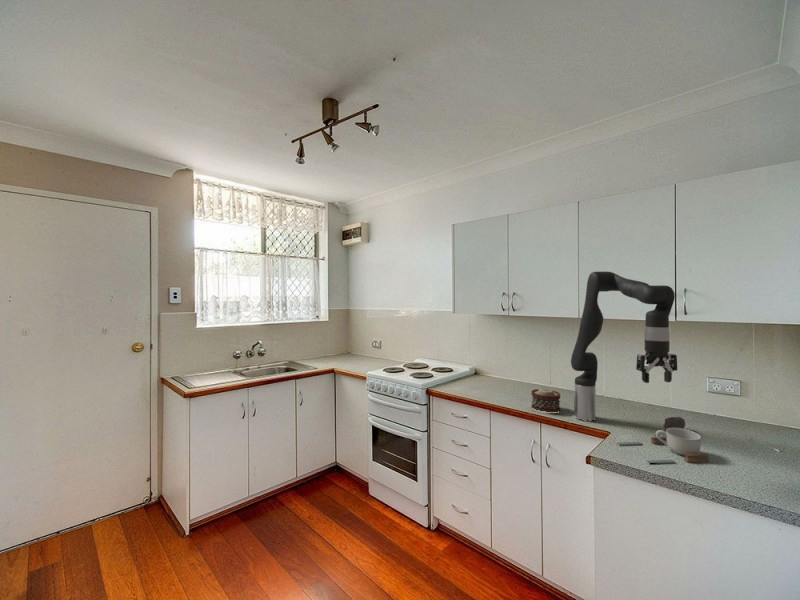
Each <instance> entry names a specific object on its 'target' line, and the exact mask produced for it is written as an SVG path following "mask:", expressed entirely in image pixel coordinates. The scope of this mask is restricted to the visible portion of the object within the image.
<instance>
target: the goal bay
mask: <svg viewBox="0 0 800 600" xmlns="http://www.w3.org/2000/svg"><path fill="white" fill-rule="evenodd" d="M617 444H619V445H627V446H642V445H643V443H642V442H641V441H630V442H629V441H625V442H616V445H617ZM619 445H618V446H619ZM646 461H647V462H648V463H658V464H657V465H665V464H670V465H671V464H676V461H675V460H674V459H657V460H656V459H655V460H646ZM648 463H647V464H648ZM659 463H660V464H659ZM661 463H662V464H661ZM664 463H665V464H664Z"/></svg>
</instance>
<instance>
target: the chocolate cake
mask: <svg viewBox="0 0 800 600" xmlns="http://www.w3.org/2000/svg"><path fill="white" fill-rule="evenodd" d="M530 395H531V398H530V399H532V400H531V401H530V402H531V409H532V408H534V409H536V410H540V411H546V412H558V411H560V412H561V406H560V405H561V400H560V399H561V393H560V392H558V391H556V390H552V389H549V388H537V389H532V390H531V394H530Z"/></svg>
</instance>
